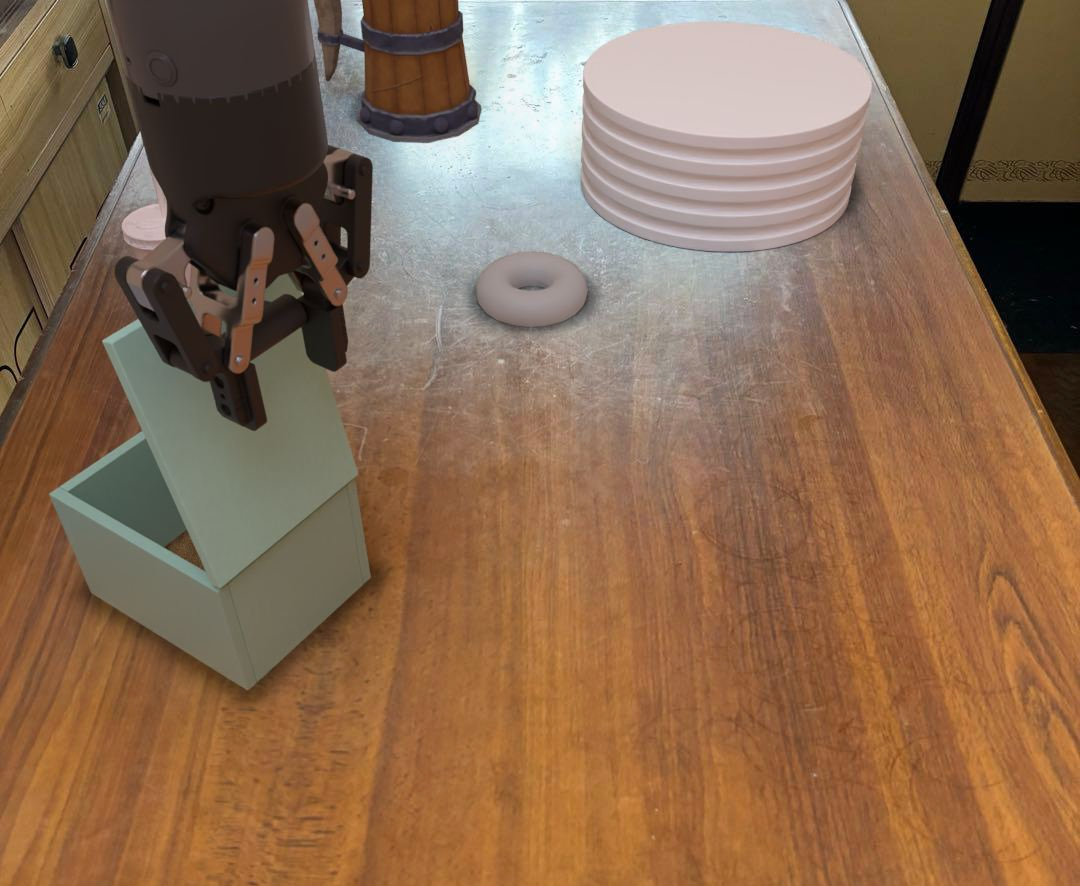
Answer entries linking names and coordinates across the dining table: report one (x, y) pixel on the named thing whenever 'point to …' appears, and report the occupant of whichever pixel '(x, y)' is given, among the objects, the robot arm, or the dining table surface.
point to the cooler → (184, 589)
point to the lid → (240, 437)
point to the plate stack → (721, 134)
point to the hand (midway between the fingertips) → (288, 391)
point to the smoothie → (148, 227)
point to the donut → (536, 306)
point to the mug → (406, 67)
